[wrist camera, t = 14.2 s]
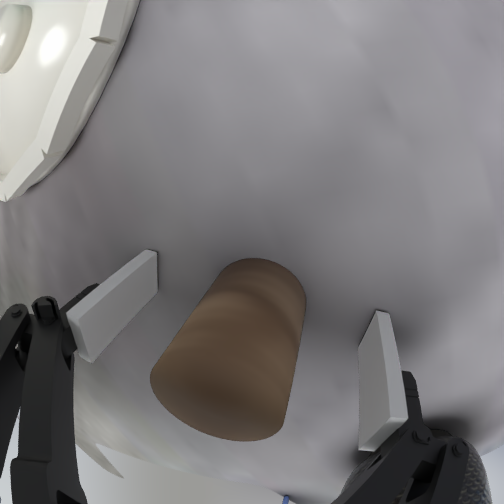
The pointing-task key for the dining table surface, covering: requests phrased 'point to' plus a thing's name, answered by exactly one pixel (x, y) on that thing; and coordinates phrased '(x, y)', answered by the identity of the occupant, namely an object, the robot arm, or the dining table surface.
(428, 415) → the dining table surface
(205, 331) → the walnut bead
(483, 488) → the planter
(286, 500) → the baby rattle
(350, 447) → the dining table surface
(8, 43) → the round cream tray
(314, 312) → the dining table surface
